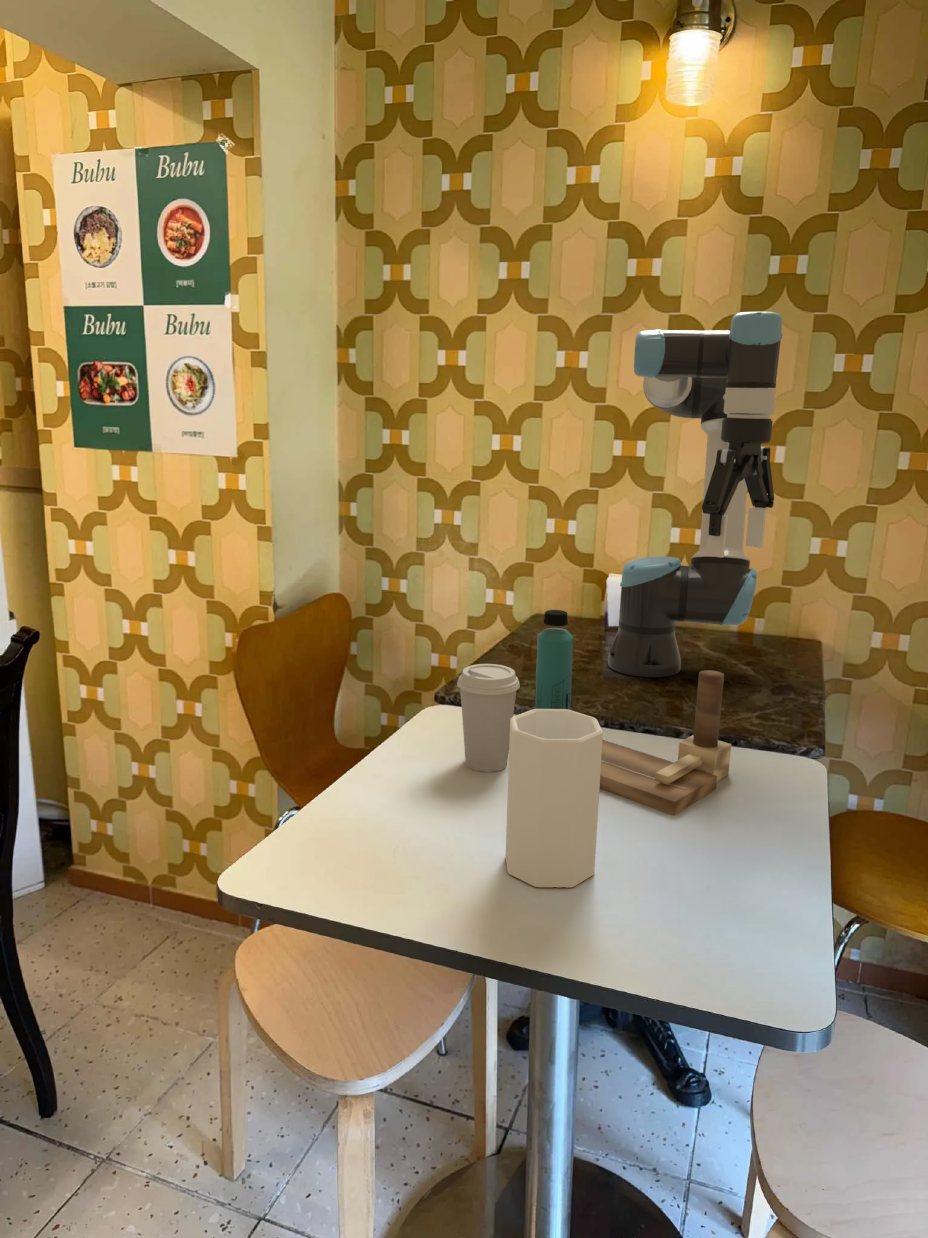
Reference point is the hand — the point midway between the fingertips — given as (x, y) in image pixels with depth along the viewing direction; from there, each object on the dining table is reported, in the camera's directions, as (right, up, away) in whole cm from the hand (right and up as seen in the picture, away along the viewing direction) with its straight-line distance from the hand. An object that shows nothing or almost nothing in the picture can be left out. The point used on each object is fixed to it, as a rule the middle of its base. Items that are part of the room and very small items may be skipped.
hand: (735, 551), depth 146 cm
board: (-20, -35, -9) cm, 41 cm away
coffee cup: (-40, -34, -6) cm, 53 cm away
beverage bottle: (-28, -29, +13) cm, 43 cm away
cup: (-33, -41, -35) cm, 64 cm away
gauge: (-11, -35, -11) cm, 39 cm away
